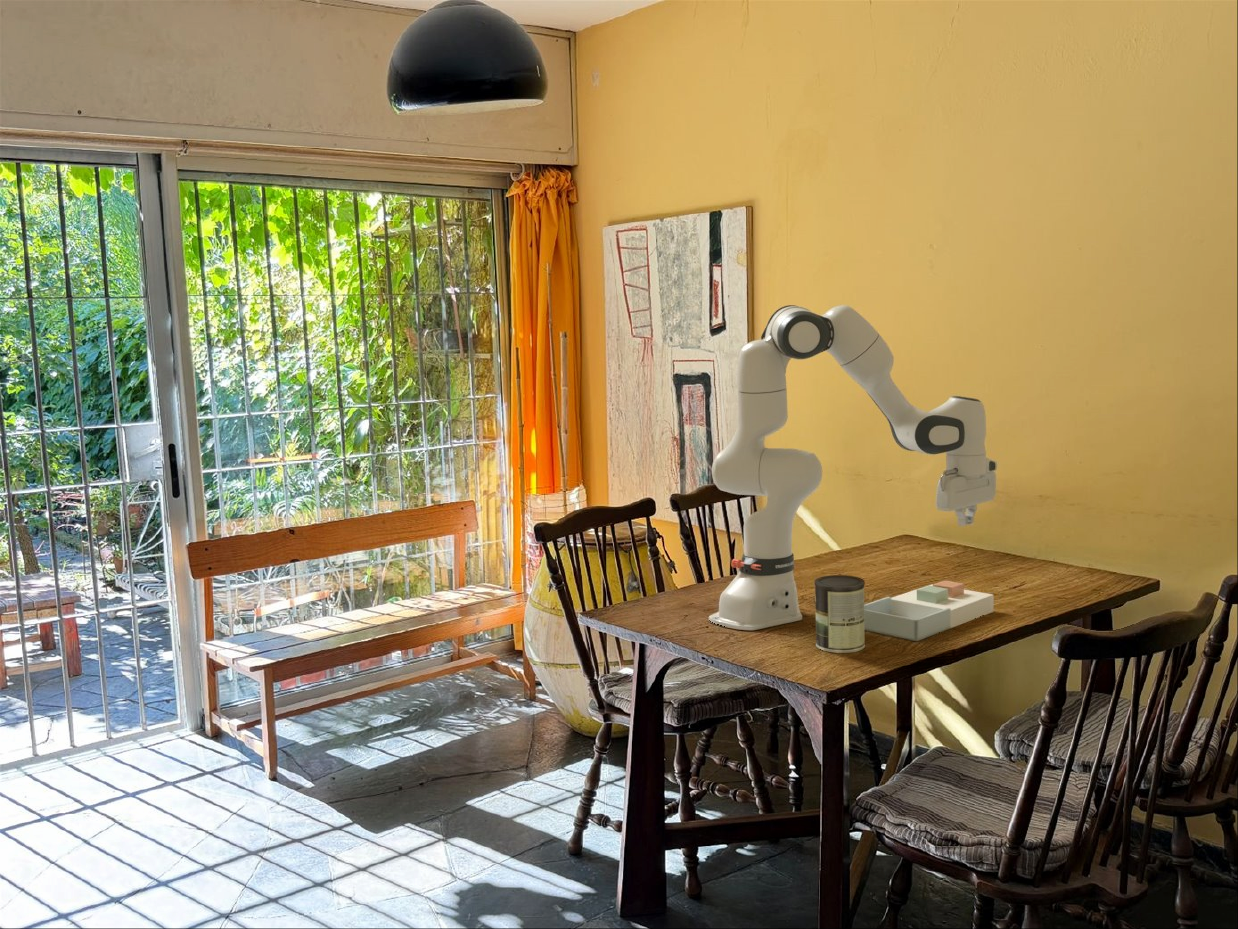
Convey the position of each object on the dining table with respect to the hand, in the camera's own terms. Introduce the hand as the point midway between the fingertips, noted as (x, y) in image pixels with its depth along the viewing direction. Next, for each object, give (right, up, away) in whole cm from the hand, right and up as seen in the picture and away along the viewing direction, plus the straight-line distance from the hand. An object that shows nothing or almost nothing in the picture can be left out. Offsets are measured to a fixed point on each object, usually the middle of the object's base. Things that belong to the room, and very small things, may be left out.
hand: (965, 524), depth 264 cm
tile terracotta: (-5, -16, -3) cm, 17 cm away
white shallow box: (-7, -20, -4) cm, 22 cm away
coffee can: (-34, -24, -26) cm, 50 cm away
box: (-19, -22, -15) cm, 32 cm away
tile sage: (-10, -17, -7) cm, 21 cm away
